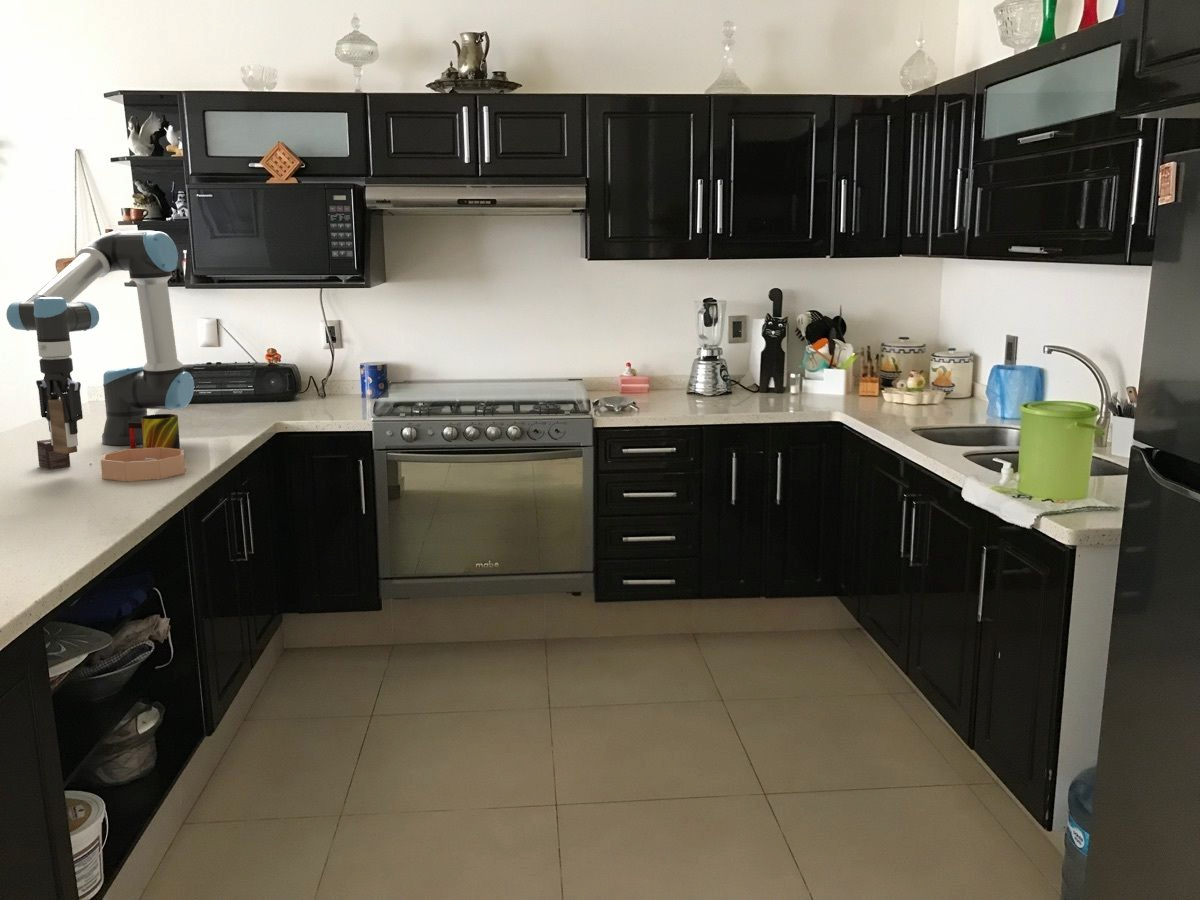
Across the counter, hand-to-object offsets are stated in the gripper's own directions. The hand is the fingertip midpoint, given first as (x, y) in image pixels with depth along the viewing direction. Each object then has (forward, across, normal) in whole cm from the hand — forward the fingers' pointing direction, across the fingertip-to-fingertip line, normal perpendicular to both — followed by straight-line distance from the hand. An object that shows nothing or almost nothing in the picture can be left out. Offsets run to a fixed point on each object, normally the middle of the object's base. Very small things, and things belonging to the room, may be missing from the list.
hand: (64, 445), depth 268 cm
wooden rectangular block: (+2, 0, 0) cm, 2 cm away
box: (+9, -13, +6) cm, 17 cm away
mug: (+9, +2, +27) cm, 29 cm away
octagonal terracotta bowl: (+8, +16, +10) cm, 21 cm away
